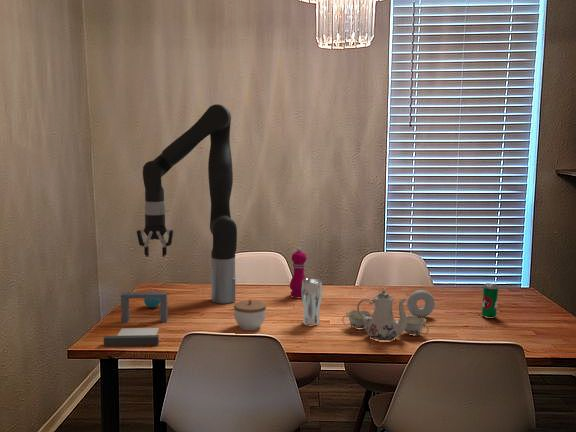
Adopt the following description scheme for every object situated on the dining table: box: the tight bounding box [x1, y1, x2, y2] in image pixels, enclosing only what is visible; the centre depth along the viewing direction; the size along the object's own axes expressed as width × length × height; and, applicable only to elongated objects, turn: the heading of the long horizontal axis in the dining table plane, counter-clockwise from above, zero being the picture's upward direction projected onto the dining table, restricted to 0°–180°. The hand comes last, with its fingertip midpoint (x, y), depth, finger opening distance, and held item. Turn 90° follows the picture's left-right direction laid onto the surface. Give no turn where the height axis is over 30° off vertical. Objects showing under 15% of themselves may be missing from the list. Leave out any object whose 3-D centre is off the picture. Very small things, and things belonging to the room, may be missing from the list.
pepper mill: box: [289, 247, 308, 298], centre depth 220 cm, size 7×7×20 cm
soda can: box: [481, 282, 499, 317], centre depth 196 cm, size 5×5×12 cm
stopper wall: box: [103, 334, 160, 347], centre depth 165 cm, size 16×2×2 cm, turn 95°
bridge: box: [120, 291, 169, 324], centre depth 187 cm, size 3×15×10 cm, turn 95°
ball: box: [143, 290, 160, 309], centre depth 203 cm, size 6×6×6 cm
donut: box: [406, 289, 436, 318], centre depth 195 cm, size 10×4×10 cm, turn 94°
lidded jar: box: [233, 299, 267, 331], centre depth 182 cm, size 11×11×9 cm
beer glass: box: [301, 278, 323, 325], centre depth 187 cm, size 7×7×15 cm
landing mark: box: [116, 327, 160, 336], centre depth 174 cm, size 12×12×1 cm
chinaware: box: [341, 288, 429, 340], centre depth 176 cm, size 28×17×17 cm, turn 77°
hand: (155, 256), depth 211 cm, fingers open, 5 cm apart
